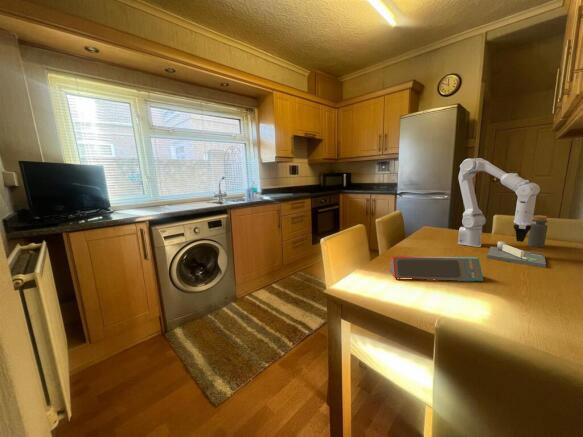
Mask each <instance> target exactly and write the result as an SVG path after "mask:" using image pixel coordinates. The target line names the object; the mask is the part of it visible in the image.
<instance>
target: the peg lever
mask: <svg viewBox="0 0 583 437" xmlns="http://www.w3.org/2000/svg"><path fill="white" fill-rule="evenodd" d="M496 247H497V249H498V250H503V251H505V252H508V253H510V254H512V255H515V256H517V257H520V258H523V259H527V258H525V257H524V251H525V250H522V249H520V248H516V247H513V246H511V245H508V244H507V242H506V241H502V240H501V241H497V245H496Z"/></svg>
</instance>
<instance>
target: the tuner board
mask: <svg viewBox="0 0 583 437" xmlns="http://www.w3.org/2000/svg"><path fill="white" fill-rule="evenodd" d="M523 251H524V257H525V258H527V259H523V258H520V257H517V256H515V255H512V254H510V253H508V252H505V251H503V250H498V249H497V246H490V247H489V250H488V252H487V256H486V259H488V260H489V259H491V260H497V261H502V262H508V263H513V264H521V265H526V266H531V267H539V268H544V269H545V268H546V267H547V266H546V265H547V263H546V258H545V253H540V252H534V251H526V250H523Z"/></svg>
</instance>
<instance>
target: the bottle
mask: <svg viewBox="0 0 583 437" xmlns="http://www.w3.org/2000/svg"><path fill="white" fill-rule="evenodd" d="M547 218H548V216H547V215H538V214H537V215H533V220H532V222H536V224H531V225H530V226H531V229H530V230H529V231H528V239H527V246H529V247H531V248H540V249H541V248H545V243H546V237H547V230H548V225H547V224H546V223H548V220H547Z"/></svg>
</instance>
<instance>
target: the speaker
mask: <svg viewBox="0 0 583 437" xmlns="http://www.w3.org/2000/svg"><path fill="white" fill-rule="evenodd" d="M389 271H390V273H391V272H392V273H391V274H392V276H393V277H395V278H412V279H435V280H434V281H438V280H457V281H456V282H474V281H482V282H483V280H484V277H483V271H482V266H481V262H480V258H478V257H476V256H465V257H464V256H407V255H404V256H400V255H399V256H397V255H396V256H395V255H393V257H392V259H391V263H390V266H389ZM395 278H394V279H395Z"/></svg>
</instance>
